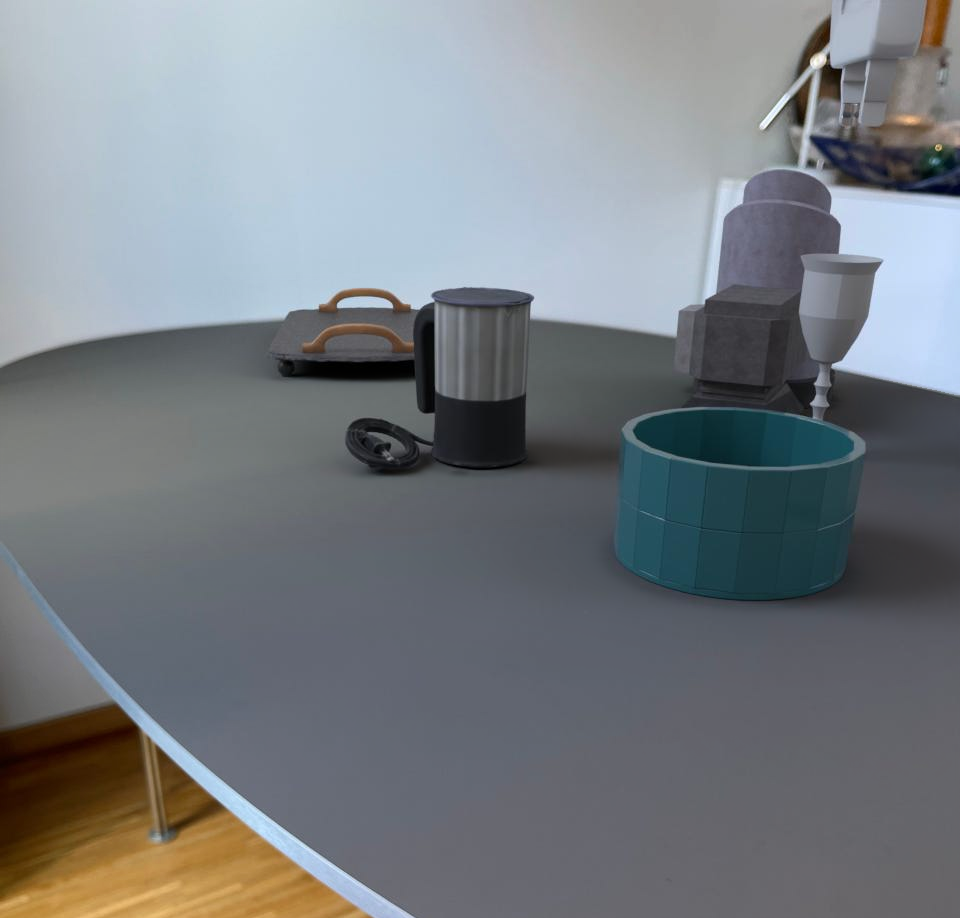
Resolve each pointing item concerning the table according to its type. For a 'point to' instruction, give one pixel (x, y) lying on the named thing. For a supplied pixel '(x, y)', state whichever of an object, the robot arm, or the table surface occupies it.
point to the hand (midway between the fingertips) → (859, 126)
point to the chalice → (834, 310)
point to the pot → (736, 501)
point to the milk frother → (463, 382)
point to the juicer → (760, 300)
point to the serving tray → (346, 332)
